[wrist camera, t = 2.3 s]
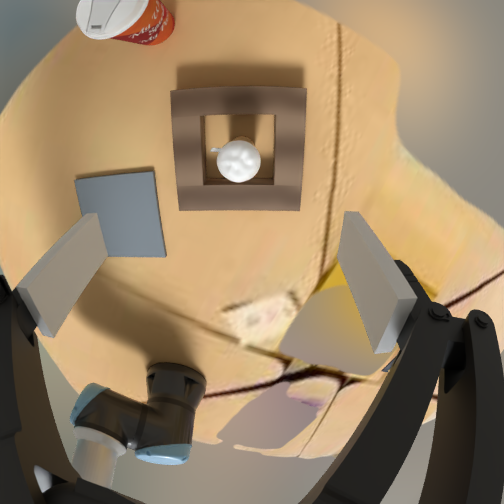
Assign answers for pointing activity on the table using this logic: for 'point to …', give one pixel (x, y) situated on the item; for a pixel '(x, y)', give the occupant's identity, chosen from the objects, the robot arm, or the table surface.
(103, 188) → the mat
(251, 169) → the milkshake
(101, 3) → the paper cup
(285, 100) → the pocket block
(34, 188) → the table surface
